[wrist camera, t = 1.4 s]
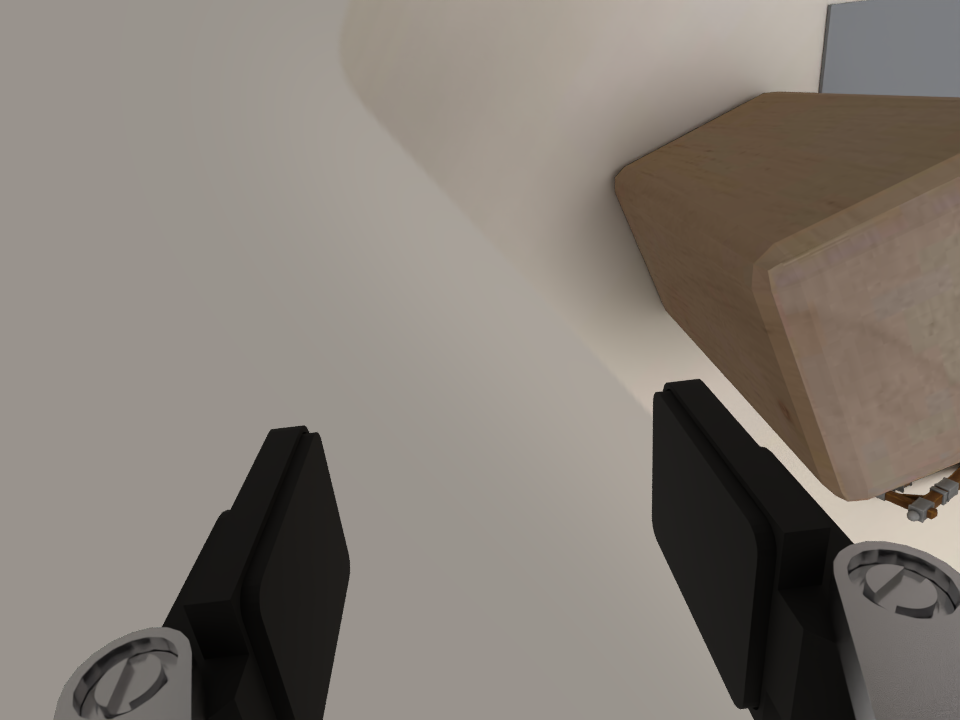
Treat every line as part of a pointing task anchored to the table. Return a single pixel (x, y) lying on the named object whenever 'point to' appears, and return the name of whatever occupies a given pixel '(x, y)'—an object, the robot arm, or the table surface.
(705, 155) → the wooden block
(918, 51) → the mat
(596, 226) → the table surface
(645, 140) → the table surface
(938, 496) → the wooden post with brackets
